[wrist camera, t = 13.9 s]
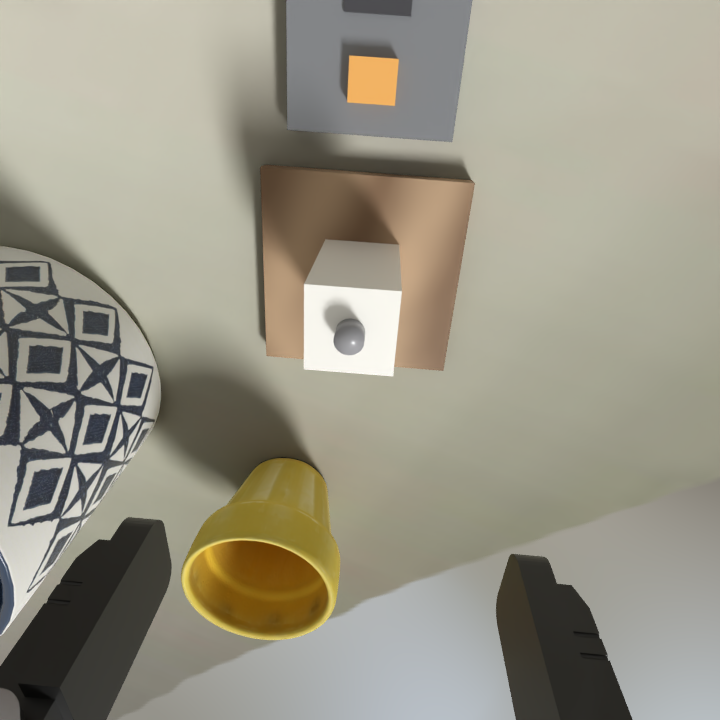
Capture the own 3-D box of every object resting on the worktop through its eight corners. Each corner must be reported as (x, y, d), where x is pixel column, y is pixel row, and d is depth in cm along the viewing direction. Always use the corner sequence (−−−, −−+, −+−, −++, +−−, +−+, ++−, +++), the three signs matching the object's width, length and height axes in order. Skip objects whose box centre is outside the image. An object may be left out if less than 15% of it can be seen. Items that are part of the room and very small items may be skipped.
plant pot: (202, 492, 41) (151, 597, 32) (267, 415, 36) (229, 512, 28) (302, 548, 43) (280, 660, 35) (374, 483, 39) (369, 590, 30)
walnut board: (471, 180, 28) (474, 183, 27) (441, 362, 33) (443, 370, 32) (265, 164, 28) (260, 167, 27) (270, 347, 34) (266, 355, 32)
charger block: (399, 244, 28) (402, 299, 20) (392, 313, 30) (393, 386, 23) (325, 239, 29) (300, 291, 21) (323, 307, 31) (300, 379, 23)
